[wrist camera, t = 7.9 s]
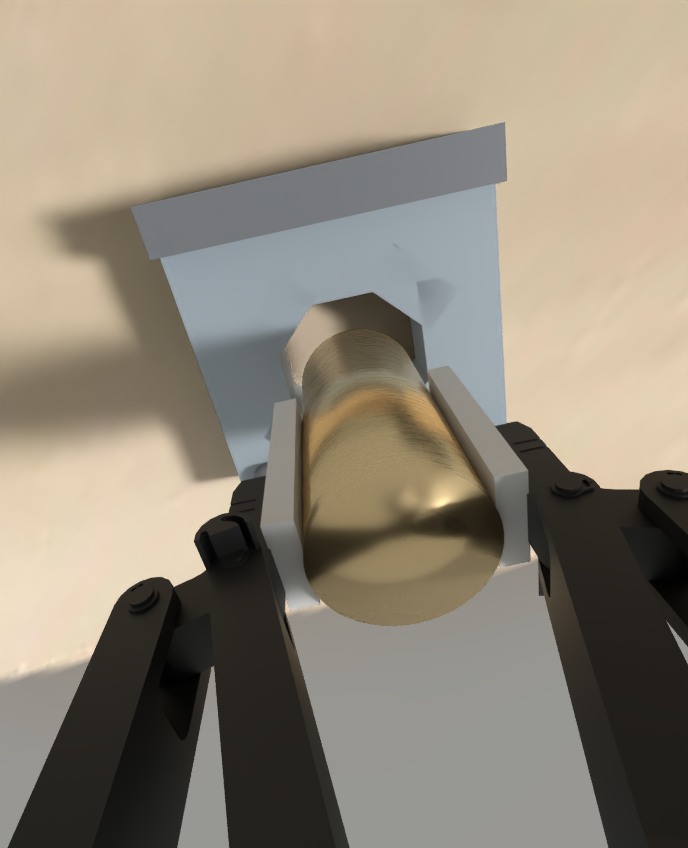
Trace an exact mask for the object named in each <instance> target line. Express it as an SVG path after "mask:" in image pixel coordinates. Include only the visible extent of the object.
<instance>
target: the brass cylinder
mask: <svg viewBox="0 0 688 848" xmlns="http://www.w3.org/2000/svg"><path fill="white" fill-rule="evenodd" d="M302 452H303V565H304V570H305V574H306V577H307V580H308V582H309V584H310V586H311V588H312V589H313V591H314V592H315V594H316V595H317V596H318V597H319V598H320V599H321V600H322V601H323V602H324V603H325V604H326V605H327V606H329V607H330V608H331V609H333V610H334V611H336V612H338V613H339V614H341V615H343V616H346V617H348V618H350V619H353V620H356V621H359V622H363V623H368V624H374V625H382V626H384V625H385V626H397V625H409V624H414V623H420V622H424V621H428V620H431V619H434V618H437V617H440V616H442V615H444V614H446V613H449V612H451V611H453V610H454V609H456V608H458V607H459V606H461V605H462V604H464V603H465V602H467V601H468V600H470V599H471V598H472V597H473V596H474V595H476V594H477V593H478V592H479V591H480V590H481V589H482V588H483V587H484V586H485V585H486V583H487V582H488V581H489V579H490V578H491V577H492V575H493V574H494V572H495V570H496V568H497V566H498V564H499V562H500V559H501V556H502V553H503V547H504V529H503V523H502V520H501V517H500V514H499V512H498V510H497V509H496V507H495V505H494V503H493V502H492V500H491V498H490V496H489V495H488V493H487V491H486V489H485V488H484V486H483V484H482V482H481V481H480V479H479V477H478V476H477V474H476V472H475V470H474V469H473V467H472V465H471V463H470V462H469V460H468V458H467V456H466V455H465V453H464V451H463V449H462V448H461V446H460V444H459V443H458V441H457V439H456V437H455V436H454V434H453V432H452V430H451V429H450V427H449V425H448V423H447V422H446V420H445V418H444V417H443V415H442V413H441V411H440V410H439V408H438V406H437V404H436V403H435V401H434V399H433V397H432V396H431V394H430V392H429V391H428V389H427V387H426V385H425V384H424V382H423V380H422V378H421V377H420V375H419V373H418V371H417V370H416V368H415V366H414V364H413V363H412V361H411V359H410V358H409V356H408V354H407V352H406V351H405V350H404V349H403V347H402V346H401V345H400V344H399V343H398V342H396V341H395V340H394V339H392V338H391V337H389V336H387V335H385V334H383V333H380V332H377V331H373V330H366V329H355V330H349V331H345V332H341V333H339V334H336V335H334V336H332V337H330V338H329V339H327V340H326V341H324V342H323V343H322V344H321V345H320V346H319V347H318V348H317V349H316V350H315V351H314V352H313V354H312V355H311V356H310V358H309V360H308V362H307V364H306V366H305V369H304V373H303V380H302Z"/></svg>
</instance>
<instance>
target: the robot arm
mask: <svg viewBox="0 0 688 848" xmlns="http://www.w3.org/2000/svg"><path fill="white" fill-rule="evenodd" d="M427 375H428V383H429V391H430V394H431V396H432V397H433V399H434V401H435V403H436V404H437V406H438V408H439V410H440V411H441V413H442V415H443V417H444V418H445V420H446V422H447V423H448V425H449V427H450V429H451V430H452V432H453V434H454V436H455V437H456V439H457V441H458V443H459V444H460V446H461V448H462V449H463V451H464V453H465V455H466V456H467V458H468V460H469V462H470V463H471V465H472V467H473V469H474V470H475V472H476V474H477V476H478V477H479V479H480V481H481V482H482V484H483V486H484V488H485V489H486V491H487V493H488V495H489V496H490V498H491V500H492V502H493V503H494V505H495V507H496V509H497V510H498V512H499V514H500V517H501V520H502V523H503V529H504V547H503V553H502V556H501V559H500V562H499V566H500V567H505V566H510V565H515V564H520V563H524V562H529V561H530V545H531V546H532V548H533V550H534V551H535V553H536V555H537V556H538V569H539V596H545V600H546V604H547V608H548V612H549V616H550V620H551V624H552V627H553V631H554V635H555V639H556V643H557V647H558V651H559V655H560V659H561V663H562V666H563V671H564V674H565V678H566V683H567V687H568V691H569V695H570V698H571V702H572V706H573V710H574V714H575V718H576V722H577V726H578V730H579V733H580V738H581V742H582V745H583V749H584V753H585V757H586V761H587V765H588V769H589V773H590V777H591V781H592V785H593V788H594V793H595V796H596V800H597V804H598V808H599V812H600V816H601V820H602V824H603V828H604V832H605V836H606V840H607V844H608V848H688V664H687V662H686V660H685V658H684V656H683V654H682V652H681V650H680V648H679V646H678V644H677V642H676V640H675V638H674V636H673V634H672V632H671V630H670V628H669V626H668V624H667V622H668V623H669V624H670V626H671V627H672V628H673V629H674V630H675V632H676V633H677V634H678V635H679V637H680V638H681V639H682V640H683V641H684V643H685V644H686V645H687V646H688V473H685V472H682V471H672V470H663V471H655V472H652V473H649V474H647V475H645V476H644V477H643V478H642V479H641V480H640V488H639V490H614V489H603V488H600V486H599V485H598V484H597V483H596V482H595V481H594V480H593V479H591V478H589V477H588V476H586V475H583V474H579V473H575V472H570V471H569V470H568V469H567V468H566V467H565V466H564V465H563V463H562V462H561V461H560V460H559V459H558V458H557V457H556V456H555V454H554V453H553V452H552V451H551V450H550V449H549V448H548V447H547V446H546V444H545V443H544V442H543V441H542V440H540V438H539V436H538V435H537V434H536V433H535V432H534V431H533V430H532V429H531V428H530V427H528V426H525V425H523V424H521V423H519V422H517V421H516V422H511V423H506V424H502V425H497V426H494V425H493V423H492V422H491V421H490V419H489V418H488V417H487V415H486V414H485V413H484V411H483V410H482V409H481V407H480V406H479V405H478V403H477V402H476V401H475V399H474V398H473V397H472V395H471V394H470V393H469V391H468V390H467V389H466V387H465V386H464V385H463V384H462V382H461V381H460V380H459V378H458V377H457V376H456V374H455V373H454V372H453V370H452V369H451V368H450V366H444V367H439V368H435V369H430V370H427ZM194 543H195V545H196V547H197V549H198V552H199V554H200V556H201V558H202V561H203V563H204V565H205V567H206V571H204V572H203V573H202V574H200V575H198V576H196V577H195V578H193V579H191V580H188V581H186V582H184V583H182V584H179V585H177V586H175V587H173V585H172V584H171V582H170V581H169V580H168V579H165V578H163V577H155V578H149V579H146V580H143V581H140V582H139V583H137V584H135V585H133V586H132V587H130V588H129V589H128V590H127V591H126V592H124V593H123V594H122V595H121V596H120V598H119V599H118V601H117V602H116V604H115V605H114V607H113V610H112V612H111V614H110V616H109V619H108V621H107V623H106V625H105V628H104V630H103V632H102V635H101V637H100V639H99V641H98V644H97V646H96V648H95V650H94V653H93V655H92V657H91V660H90V662H89V664H88V666H87V669H86V671H85V673H84V675H83V678H82V680H81V682H80V685H79V687H78V689H77V691H76V694H75V696H74V698H73V700H72V703H71V705H70V707H69V710H68V712H67V714H66V716H65V719H64V721H63V723H62V725H61V728H60V730H59V732H58V735H57V737H56V739H55V741H54V744H53V746H52V748H51V750H50V753H49V755H48V757H47V759H46V762H45V764H44V766H43V769H42V771H41V773H40V776H39V778H38V780H37V782H36V785H35V787H34V789H33V791H32V794H31V796H30V798H29V800H28V803H27V805H26V807H25V809H24V812H23V814H22V816H21V819H20V821H19V823H18V825H17V828H16V830H15V832H14V834H13V837H12V839H11V842H10V843H9V846H8V848H177V845H178V840H179V835H180V829H181V825H182V819H183V813H184V809H185V803H186V798H187V793H188V788H189V783H190V777H191V772H192V767H193V762H194V756H195V751H196V745H197V741H198V735H199V730H200V724H201V720H202V714H203V709H204V704H205V699H206V693H207V688H208V683H209V677H210V672H211V667H212V666H214V670H215V682H216V694H217V706H218V718H219V730H220V742H221V753H222V765H223V778H224V789H225V802H226V814H227V824H228V825H227V826H228V838H229V848H349V844H348V840H347V837H346V833H345V829H344V825H343V822H342V818H341V814H340V810H339V807H338V803H337V799H336V796H335V792H334V788H333V785H332V781H331V777H330V773H329V770H328V766H327V762H326V758H325V755H324V751H323V747H322V743H321V740H320V736H319V733H318V729H317V725H316V721H315V718H314V714H313V710H312V706H311V703H310V699H309V695H308V692H307V688H306V684H305V680H304V676H303V673H302V669H301V666H300V662H299V658H298V654H297V650H296V647H295V643H294V639H293V636H292V632H291V628H290V625H289V622H288V619H287V616H286V613H285V597H286V600H287V603H288V606H289V608H290V611H291V610H296V609H300V608H305V607H310V606H315V605H320V598H319V597H318V596H317V595H316V594H315V592H314V591H313V589H312V588H311V586H310V584H309V582H308V580H307V577H306V574H305V570H304V565H303V452H302V418H301V415H300V411H299V407H298V404H297V400H296V398H295V399H291V400H286V401H281V402H277V403H274V411H273V420H272V429H271V437H270V446H269V455H268V463H267V472H266V476H262V477H257V478H253V479H248V480H243V481H241V483H240V484H239V485H238V487H237V488H236V489H235V491H234V492H233V495H232V500H231V506H230V509H229V513H225V514H221V515H219V516H217V517H214V518H212V519H210V520H209V521H208V522H206V523H205V524H204V525H202V526H201V528H200V529H199V530H198V532H197V533H196V535H195V539H194ZM666 621H667V622H666Z"/></svg>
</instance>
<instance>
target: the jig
mask: <svg viewBox="0 0 688 848" xmlns="http://www.w3.org/2000/svg"><path fill="white" fill-rule="evenodd" d="M504 181H507V167H506V140H505V122H504V123H499V124H495V125H490V126H486V127H481V128H477V129H473V130H468V131H464V132H459V133H455V134H451V135H446V136H442V137H437V138H433V139H428V140H424V141H420V142H415V143H411V144H406V145H402V146H397V147H393V148H389V149H384V150H380V151H375V152H371V153H367V154H362V155H358V156H353V157H349V158H344V159H340V160H336V161H331V162H327V163H322V164H318V165H313V166H309V167H305V168H300V169H296V170H291V171H287V172H283V173H278V174H274V175H269V176H265V177H260V178H256V179H252V180H247V181H243V182H238V183H234V184H230V185H225V186H221V187H216V188H212V189H207V190H203V191H199V192H194V193H190V194H185V195H181V196H176V197H172V198H168V199H163V200H159V201H154V202H150V203H146V204H141V205H137V206H132V207H130V208H131V210H132V213H133V216H134V218H135V221H136V224H137V226H138V229H139V232H140V234H141V237H142V240H143V243H144V245H145V248H146V251H147V253H148V256H149V259H150V260H155V259H159V258H160V260H161V263H162V265H163V268H164V271H165V274H166V276H167V279H168V282H169V285H170V287H171V290H172V293H173V296H174V298H175V301H176V304H177V307H178V309H179V312H180V315H181V318H182V321H183V323H184V326H185V329H186V332H187V334H188V337H189V340H190V343H191V345H192V348H193V351H194V354H195V356H196V359H197V362H198V365H199V367H200V370H201V373H202V376H203V378H204V381H205V384H206V387H207V389H208V392H209V395H210V398H211V400H212V403H213V406H214V409H215V412H216V414H217V417H218V420H219V423H220V425H221V428H222V431H223V434H224V436H225V439H226V442H227V445H228V447H229V450H230V453H231V456H232V458H233V461H234V464H235V467H236V469H237V472H238V475H239V478H240V480H241V481H243V480H248V479H253V478H257V477H262V476H266V472H267V463H268V455H269V446H270V437H271V429H272V420H273V411H274V403H277V402H281V401H286V400H291V399H295V398H296V400H297V404H298V407H299V411H300V415H301V418H302V387H300V386H298V385H297V384H295V383H294V379H293V376H292V372H291V368H290V364H289V361H288V357H287V353H286V349H285V346H286V344H287V343H288V341H289V339H290V338H291V336H292V335H293V333H294V332H295V330H296V328H297V327H298V325H299V324H300V322H301V320H302V319H303V317H304V316H305V314H306V312H307V311H308V309H309V308H310V306H311V305H315V304H320V303H324V302H329V301H334V300H338V299H343V298H347V297H352V296H356V295H361V294H366V293H370V292H373V293H375V294H376V295H378V296H379V297H381V298H382V299H384V300H385V301H387V302H388V303H390V304H391V305H393V306H394V307H396V308H397V309H399V310H400V311H402V312H403V313H405V314H406V315H408V316H409V317H410V323H411V330H412V338H413V345H414V352H415V358H414V360H413V361H412V363H413V364H414V366H415V368H416V370H417V371H418V373H419V375H420V377H421V378H422V380H423V382H424V384H425V385H426V387H427V389H428V391H429V383H428V375H427V370H430V369H435V368H439V367H444V366H450V368H451V369H452V370H453V372H454V373H455V374H456V376H457V377H458V378H459V380H460V381H461V382H462V384H463V385H464V386H465V387H466V389H467V390H468V391H469V393H470V394H471V395H472V397H473V398H474V399H475V401H476V402H477V403H478V405H479V406H480V407H481V409H482V410H483V411H484V413H485V414H486V415H487V417H488V418H489V419H490V421H491V422H492V423H493V425H494V426H497V425H502V424H506V423H507V421H506V400H505V378H504V357H503V336H502V315H501V293H500V272H499V251H498V230H497V208H496V187H495V183H500V182H504ZM429 392H430V391H429Z"/></svg>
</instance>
